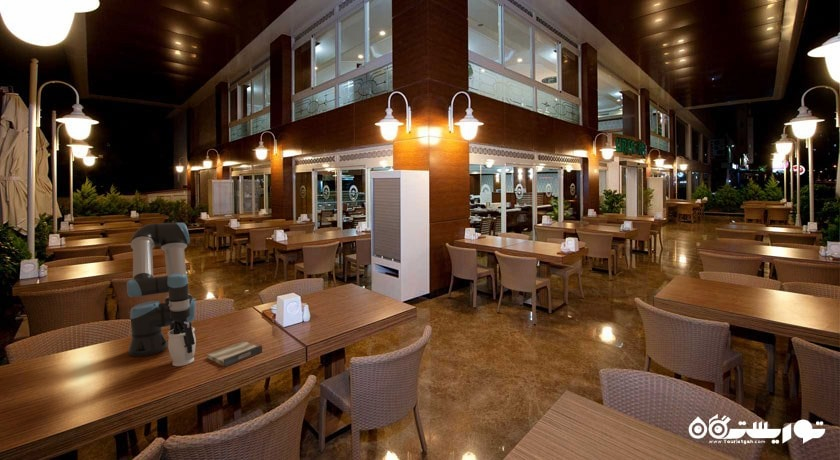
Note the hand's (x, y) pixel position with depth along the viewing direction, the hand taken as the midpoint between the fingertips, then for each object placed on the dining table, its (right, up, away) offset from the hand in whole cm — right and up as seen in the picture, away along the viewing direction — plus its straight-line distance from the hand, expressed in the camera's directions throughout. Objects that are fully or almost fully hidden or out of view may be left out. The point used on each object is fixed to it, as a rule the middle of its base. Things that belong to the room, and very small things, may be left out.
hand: (183, 356), depth 167 cm
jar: (0, -3, 0) cm, 3 cm away
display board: (+19, -2, +8) cm, 21 cm away
